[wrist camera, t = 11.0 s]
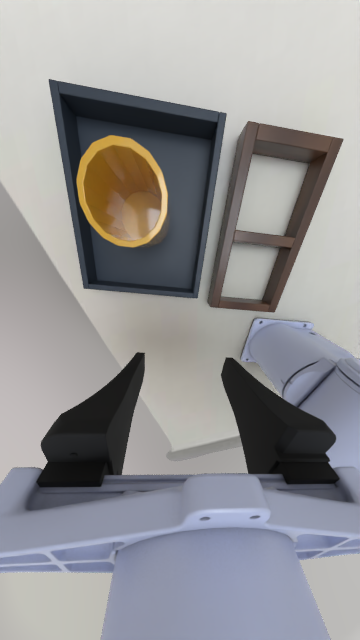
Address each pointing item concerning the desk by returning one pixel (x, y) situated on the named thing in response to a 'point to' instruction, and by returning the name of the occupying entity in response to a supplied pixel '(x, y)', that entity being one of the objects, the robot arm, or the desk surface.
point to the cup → (123, 193)
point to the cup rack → (321, 160)
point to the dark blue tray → (179, 174)
